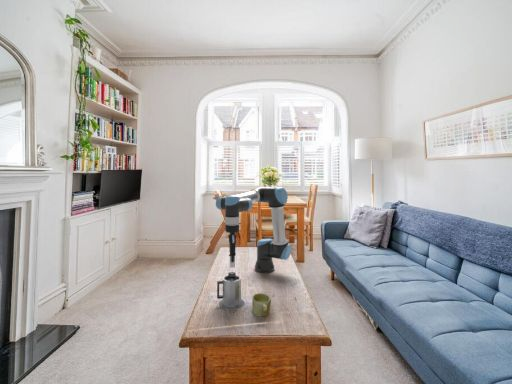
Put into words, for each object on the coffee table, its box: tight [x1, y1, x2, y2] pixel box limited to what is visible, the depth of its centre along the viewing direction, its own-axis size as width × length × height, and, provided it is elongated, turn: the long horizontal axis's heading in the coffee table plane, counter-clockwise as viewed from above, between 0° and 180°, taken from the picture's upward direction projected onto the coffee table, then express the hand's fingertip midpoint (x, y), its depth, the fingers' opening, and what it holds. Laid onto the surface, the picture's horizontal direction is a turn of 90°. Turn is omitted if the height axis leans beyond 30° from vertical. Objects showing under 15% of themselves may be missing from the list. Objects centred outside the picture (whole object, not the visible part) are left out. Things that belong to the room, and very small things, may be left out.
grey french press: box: [216, 274, 242, 308], centre depth 137 cm, size 13×10×14 cm
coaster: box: [218, 298, 245, 311], centre depth 137 cm, size 14×14×1 cm
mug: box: [251, 292, 272, 317], centre depth 127 cm, size 12×10×10 cm
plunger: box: [227, 271, 237, 281], centre depth 137 cm, size 7×7×13 cm
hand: (232, 267), depth 137 cm, fingers closed
